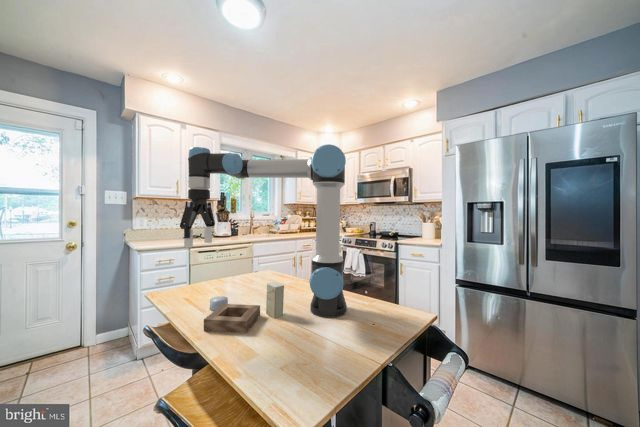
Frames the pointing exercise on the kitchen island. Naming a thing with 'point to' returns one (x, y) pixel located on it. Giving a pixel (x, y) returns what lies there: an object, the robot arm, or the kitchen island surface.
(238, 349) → the kitchen island surface
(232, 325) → the socket block
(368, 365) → the kitchen island surface
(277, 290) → the skincare box
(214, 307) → the light blue rounded block
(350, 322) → the kitchen island surface
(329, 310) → the robot arm
